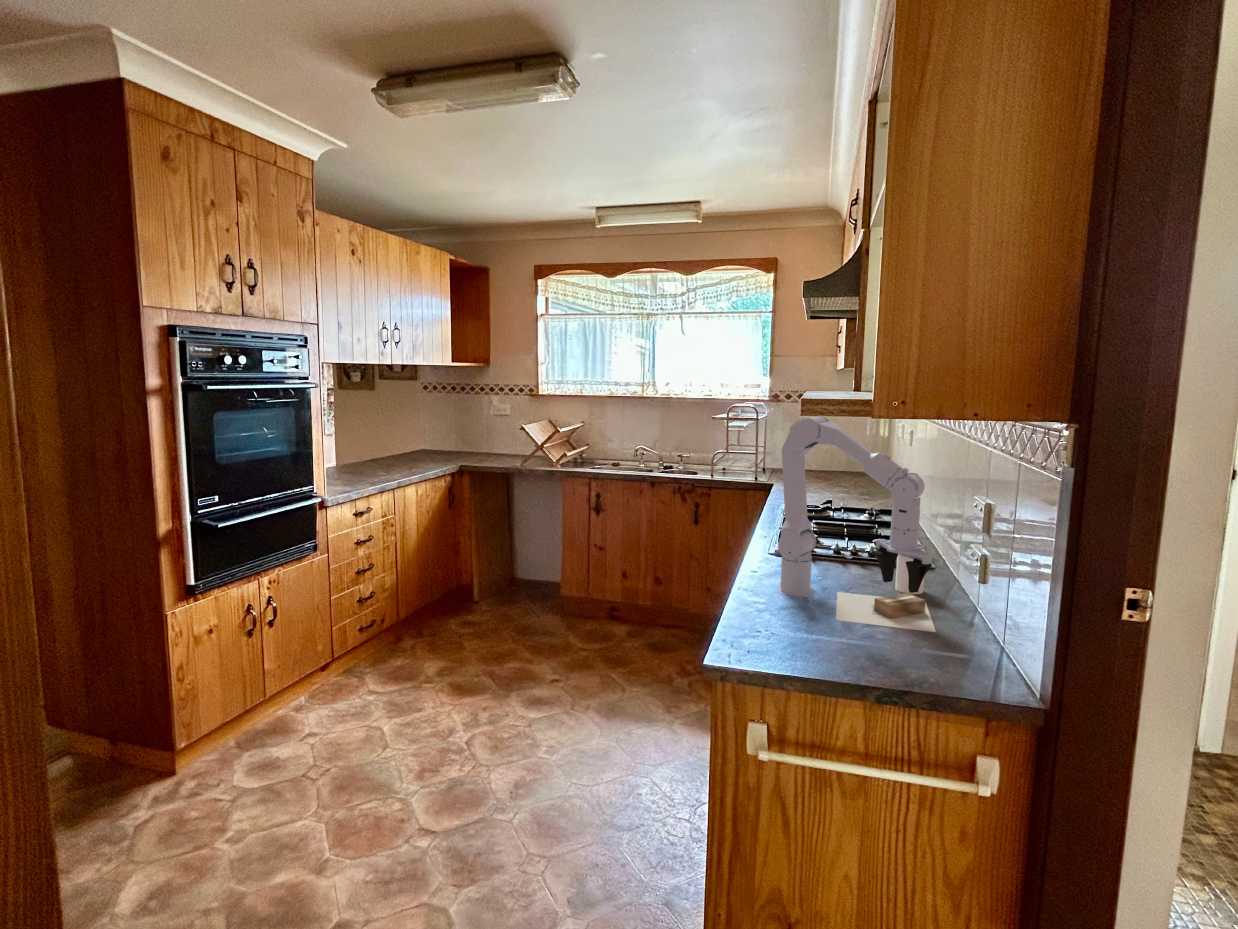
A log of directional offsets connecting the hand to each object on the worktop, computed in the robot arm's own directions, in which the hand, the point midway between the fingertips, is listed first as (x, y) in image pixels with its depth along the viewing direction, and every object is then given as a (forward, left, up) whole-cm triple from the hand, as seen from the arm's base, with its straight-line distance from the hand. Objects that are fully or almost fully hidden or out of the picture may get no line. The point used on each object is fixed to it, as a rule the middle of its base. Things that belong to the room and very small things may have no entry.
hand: (900, 586), depth 150 cm
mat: (0, -3, -7) cm, 7 cm away
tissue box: (0, 0, -6) cm, 6 cm away
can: (-18, +4, -7) cm, 20 cm away
